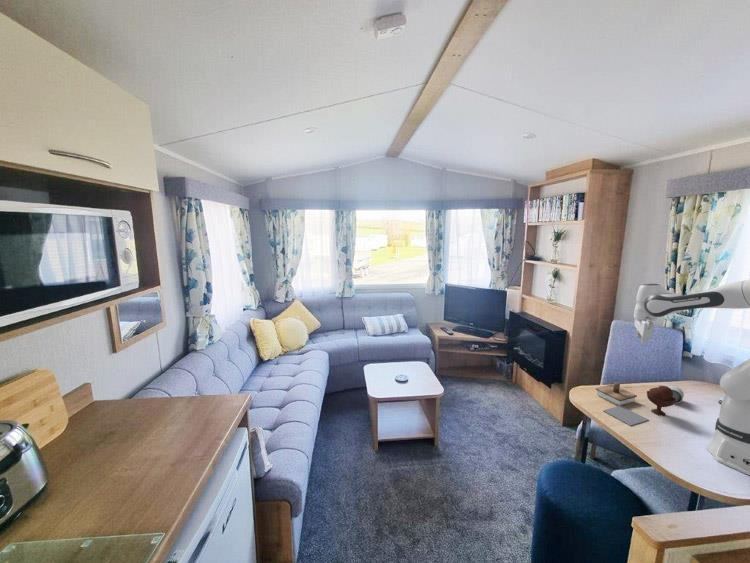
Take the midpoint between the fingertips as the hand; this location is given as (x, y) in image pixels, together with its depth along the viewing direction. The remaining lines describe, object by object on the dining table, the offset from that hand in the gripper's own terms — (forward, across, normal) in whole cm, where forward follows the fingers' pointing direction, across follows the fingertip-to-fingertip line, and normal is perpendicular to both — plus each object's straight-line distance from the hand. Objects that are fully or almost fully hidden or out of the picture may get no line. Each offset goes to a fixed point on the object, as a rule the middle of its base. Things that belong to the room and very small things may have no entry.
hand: (641, 340), depth 156 cm
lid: (+34, +5, +6) cm, 35 cm away
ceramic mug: (+37, +18, -19) cm, 45 cm away
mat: (+37, -12, +4) cm, 39 cm away
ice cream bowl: (+37, -1, -11) cm, 38 cm away
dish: (+37, +5, +6) cm, 38 cm away
